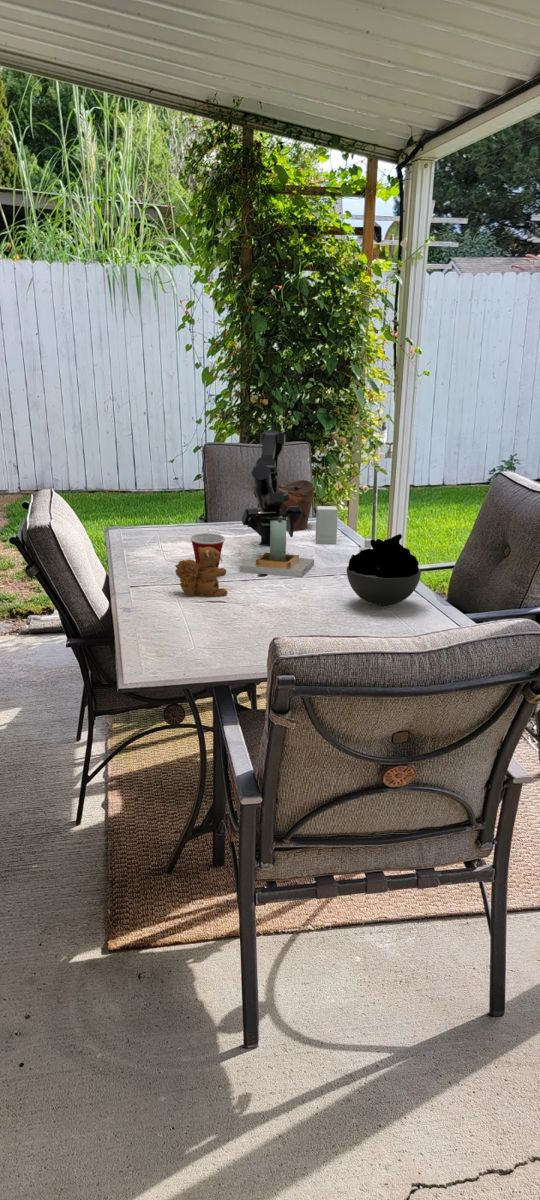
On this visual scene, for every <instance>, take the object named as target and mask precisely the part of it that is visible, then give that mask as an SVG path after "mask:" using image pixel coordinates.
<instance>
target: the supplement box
mask: <svg viewBox="0 0 540 1200" xmlns="http://www.w3.org/2000/svg"><path fill="white" fill-rule="evenodd" d="M338 511H339V510H338V507H337V505H334V506H332V505H331V506H329V505H326V506H325V505H317V506H316V513H315V516H316V517H315V518H316V520H315V543H316V544H318V545H337V538H338V537H337V536H338V535H337V534H338Z"/></svg>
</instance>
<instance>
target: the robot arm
mask: <svg viewBox="0 0 540 1200" xmlns="http://www.w3.org/2000/svg"><path fill="white" fill-rule="evenodd" d="M259 436H260V438H259V439H260V440H259V443H260V445H262V451H261V455H260V457H259V458H258V459H257V460H256V462H255V463H256V464H255V466H253V467H252V471H251V477H252V481H253V489H254V493H255V495H256V499H257V507H258V508H257V507H254V508H252V507H250V508H249V507H248V508H245V509H244V512H243V514H242V515H241V516H242V517H241V522H242V526H247V527H248V528H250V529H252V530H253V531H255V532H256V533H257V534H258V535H259V536H260V537H261V538H260V543H259V545H262V546H270V521H271V520H278V519H279V516H282V517H283V519H282V520H284V519H285V521H286V527H287V530H286V531H287V532H288V535H289V537H290V538H293V536H294V530H293V527H294V523H295V522H296V521H297V520H298V518H299V517H300V515H301V513H302V511H301V508H300V507H299V506H288V507H287V509H286V511H281V507H282V505H281V504H282V503H284V502H285V501H288V500H289V494H288V492H287V490H286V491H282V492H277V487H278V479H279V475H280V470H279V457H280V456H281V455H282V454H283V451H284V446H286V434H285V433H283V432H282V431H277V430H265V431H262V432H261V433H260V435H259Z"/></svg>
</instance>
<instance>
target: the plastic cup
mask: <svg viewBox="0 0 540 1200" xmlns="http://www.w3.org/2000/svg"><path fill="white" fill-rule="evenodd" d="M189 540H190V542H191V545H192V548H193V554H194V561H195V562H196V563H197V564H198V565H199V562H200V559H199V551H198V548H199V547H202V548H204V547H212V548H215V549H216V550H218V551H219V552H220V557H221V555H222V551H223V550H222V548H223V545H224V542H225V541H226V537H225V536H224V535H221V534H219V533H214V532H213V533H212V532H199V533H194V534H192V535H191V536H189ZM220 562H221V559H220V560H219V562H217V563H216V564H214V565H215V567H218V568H219V566H220Z"/></svg>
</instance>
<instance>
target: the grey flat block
mask: <svg viewBox="0 0 540 1200" xmlns="http://www.w3.org/2000/svg"><path fill="white" fill-rule="evenodd" d="M314 566H315V559H314V558H304V557H300V555H299V554H298V555H297V554H287V553H286V562H282V561H270V552H264V554H254V555H251V556H250V557H249V558H248V559H247V560H245V561H243V563H241V564H240V565H239V572H240V573H249V574H251V573H252V574H262V575H263V574H264V575H274V576H285V577H286V576H287V577H297V578H302V577H304V576H305V575H306V574H307V573H308V572H309V571H310V570H311V569H312V568H313V567H314Z"/></svg>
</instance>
